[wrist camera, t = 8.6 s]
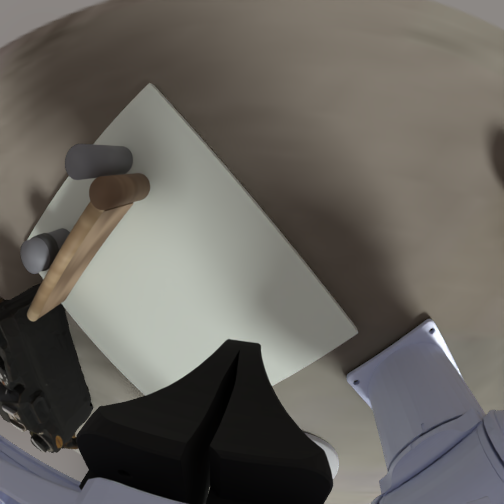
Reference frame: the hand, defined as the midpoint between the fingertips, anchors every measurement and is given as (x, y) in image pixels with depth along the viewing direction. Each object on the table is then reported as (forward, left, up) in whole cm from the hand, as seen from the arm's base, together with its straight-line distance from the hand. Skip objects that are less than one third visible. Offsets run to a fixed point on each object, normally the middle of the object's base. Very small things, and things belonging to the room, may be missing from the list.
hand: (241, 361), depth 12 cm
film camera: (+7, +23, -10) cm, 26 cm away
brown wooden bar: (+10, +8, -8) cm, 15 cm away
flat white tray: (+4, +6, -9) cm, 12 cm away
